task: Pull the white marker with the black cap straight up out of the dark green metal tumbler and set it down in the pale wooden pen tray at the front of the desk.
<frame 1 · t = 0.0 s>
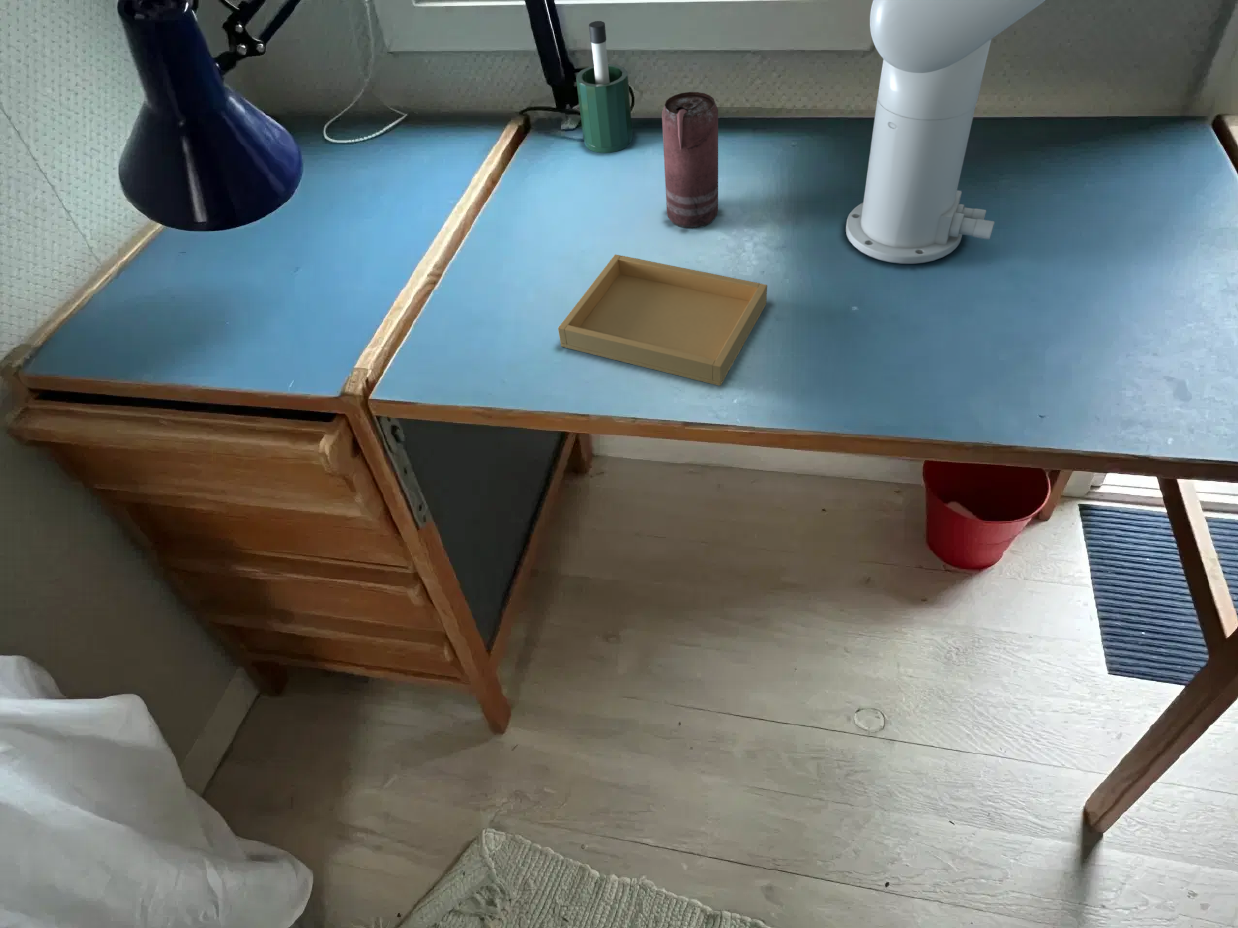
pen tray: (664, 325, 91), on the table
marker: (607, 135, 119), point 1 cm above the table, touching tumbler
can: (692, 218, 105), on the table
tumbler: (608, 141, 119), on the table
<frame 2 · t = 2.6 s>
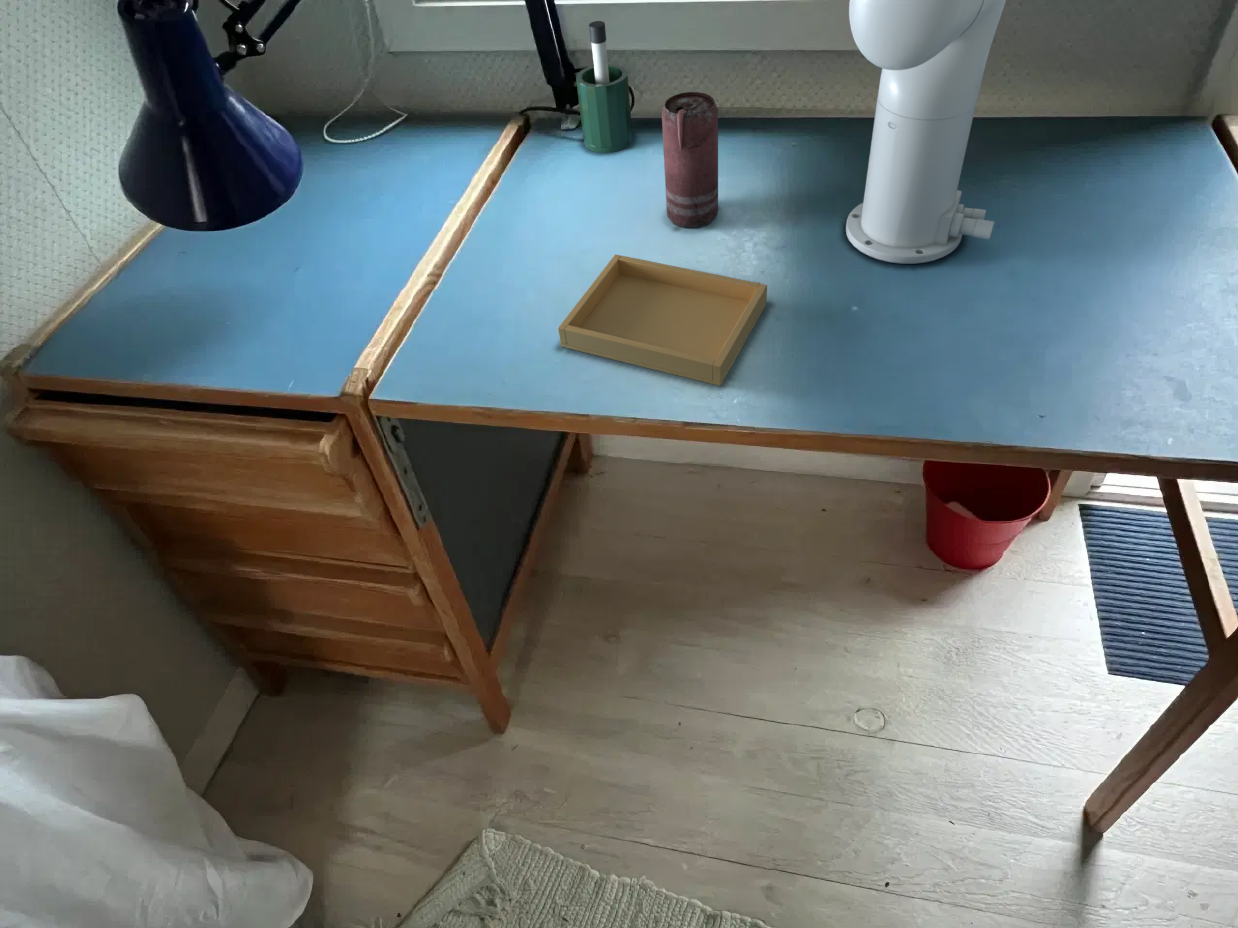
nothing on the table moved.
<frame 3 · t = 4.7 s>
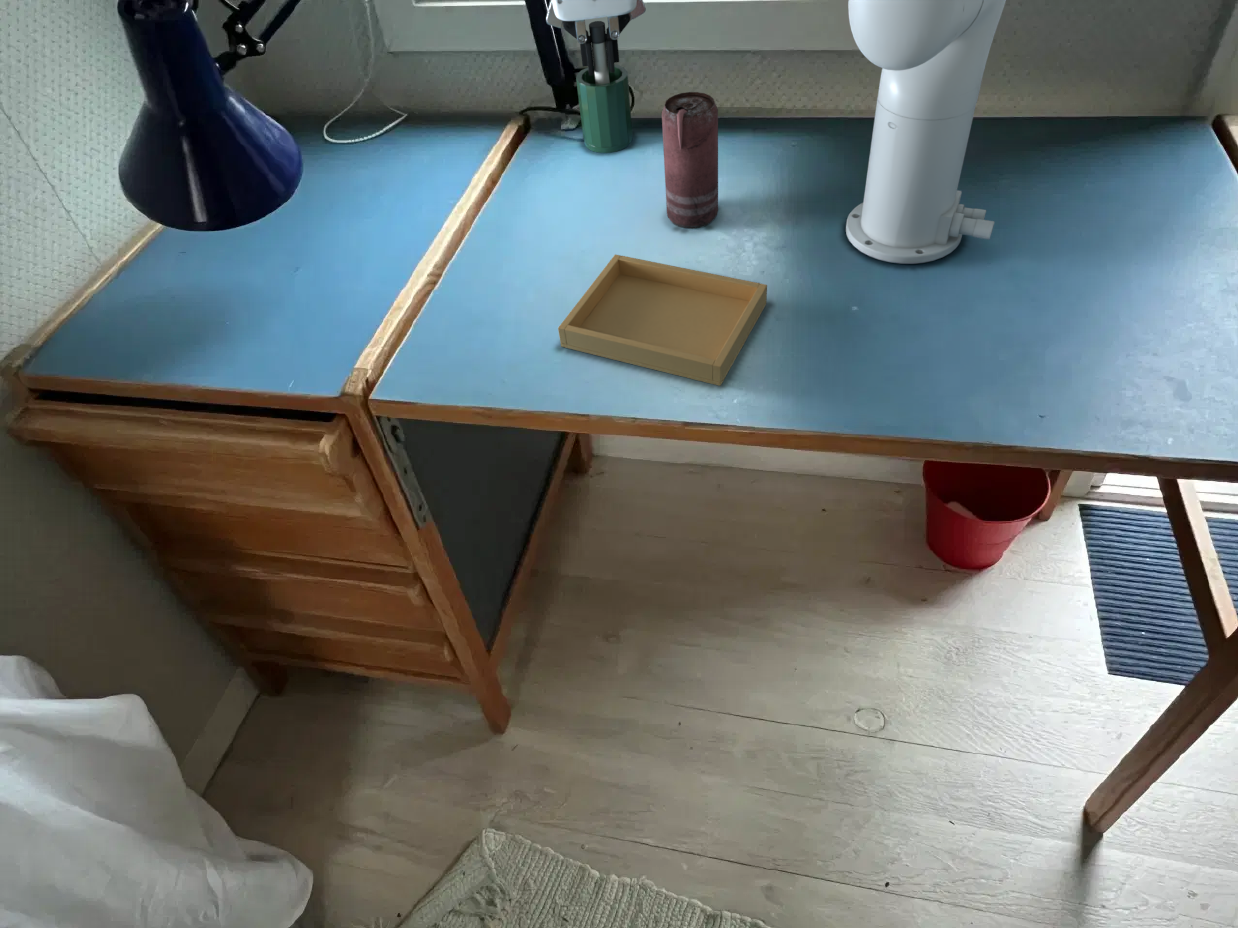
hand: (601, 68, 112), 10 cm above the table, tool pointing down, fingers closed on marker, 2 cm apart
marker: (607, 135, 119), point 1 cm above the table, touching gripper, tumbler
everything else where it was.
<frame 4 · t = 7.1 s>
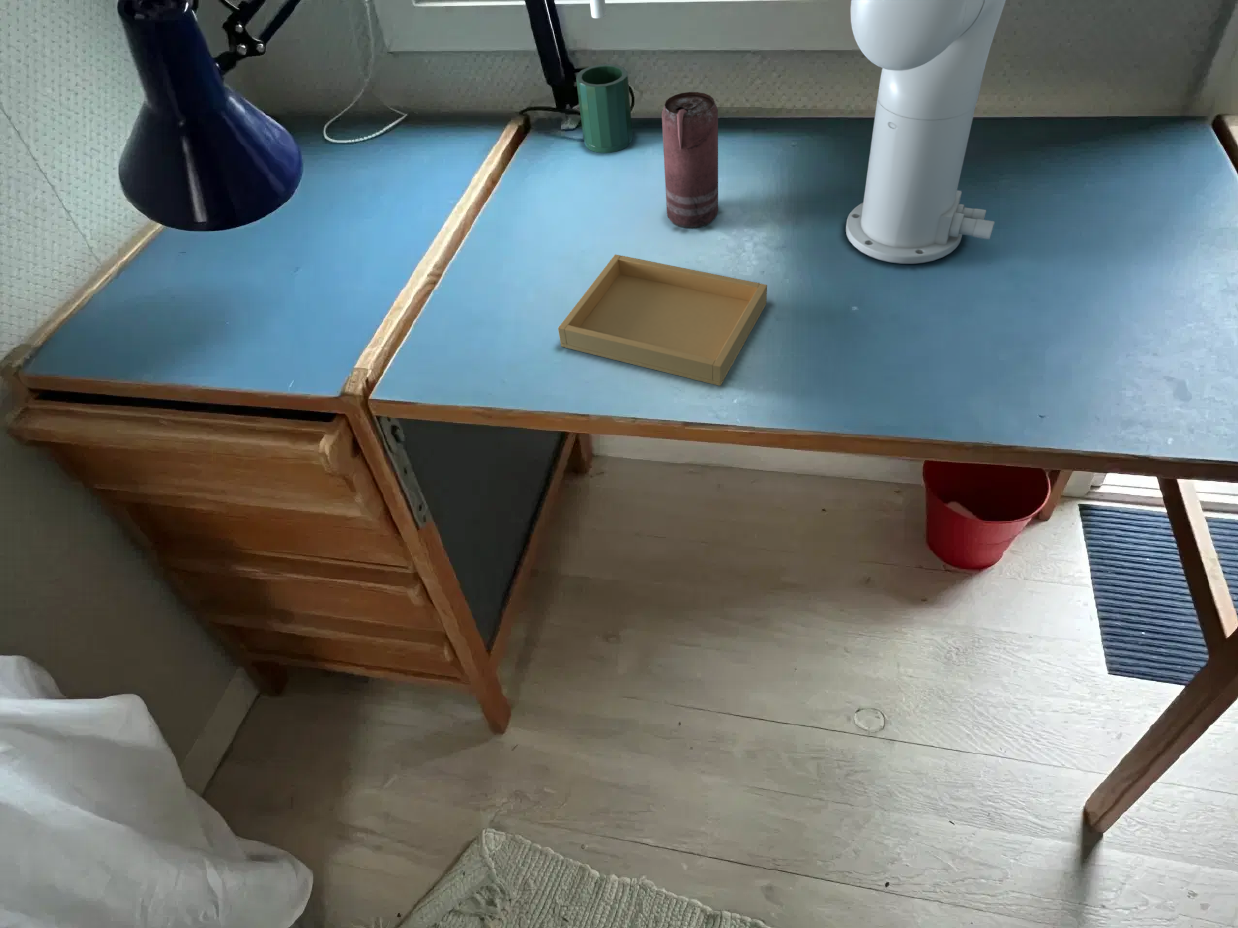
marker: (598, 16, 106), point 17 cm above the table, touching gripper
everything else where it was.
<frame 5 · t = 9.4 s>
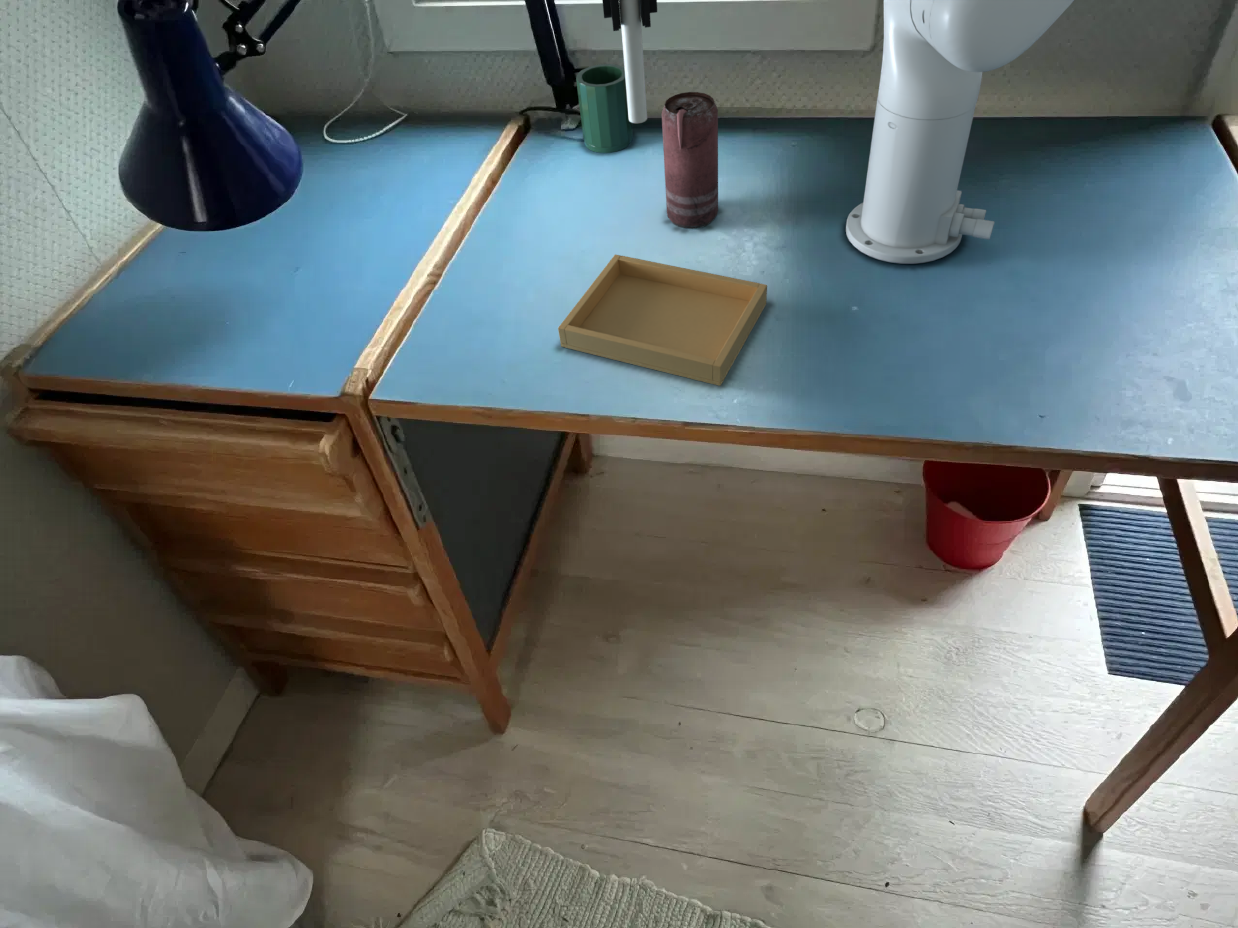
hand: (631, 21, 78), 27 cm above the table, tool pointing down, fingers closed on marker
marker: (638, 119, 84), point 18 cm above the table, touching gripper
everything else where it was.
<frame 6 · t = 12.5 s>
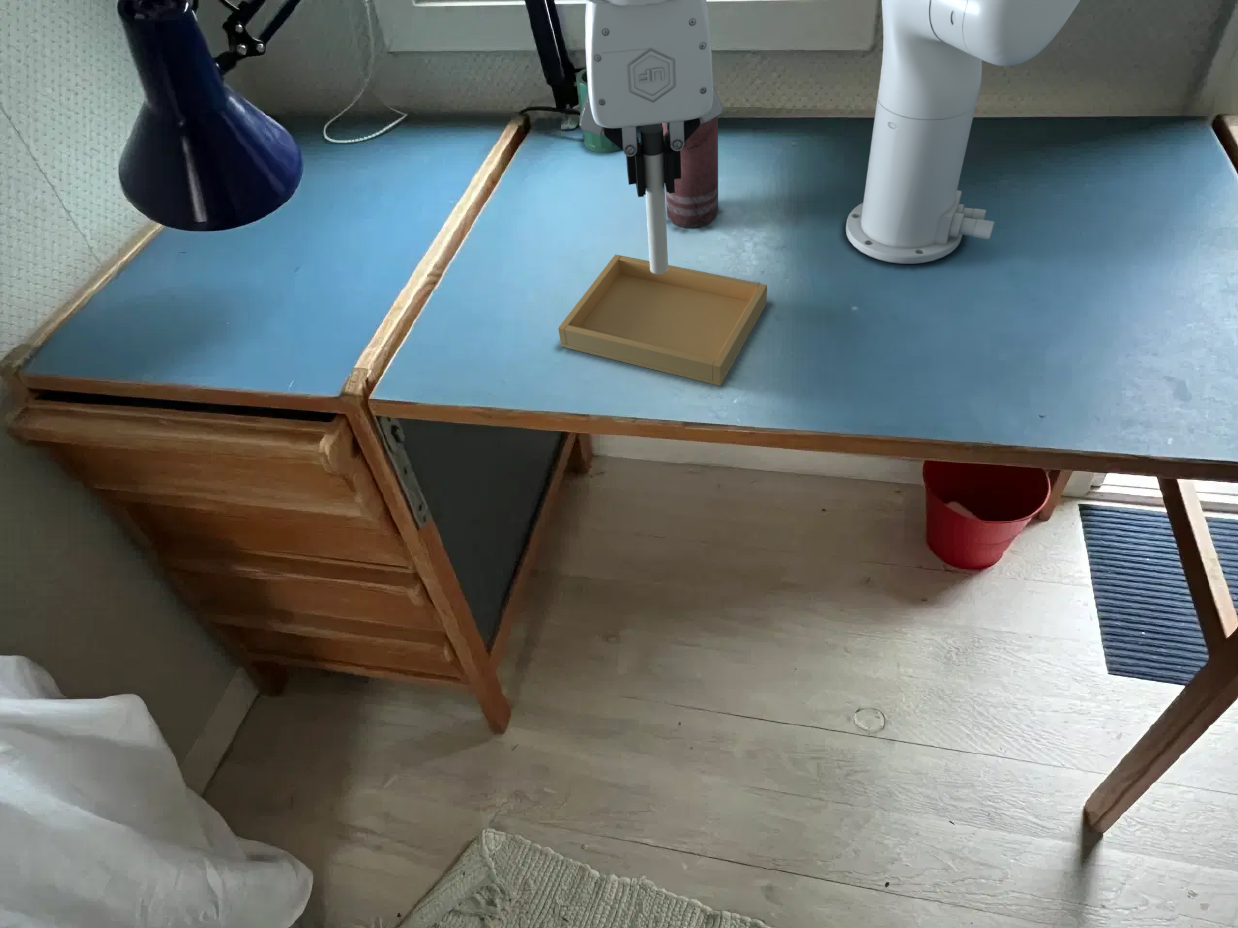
hand: (654, 186, 79), 16 cm above the table, tool pointing down, fingers closed on marker
marker: (659, 269, 86), point 7 cm above the table, touching gripper
everything else where it was.
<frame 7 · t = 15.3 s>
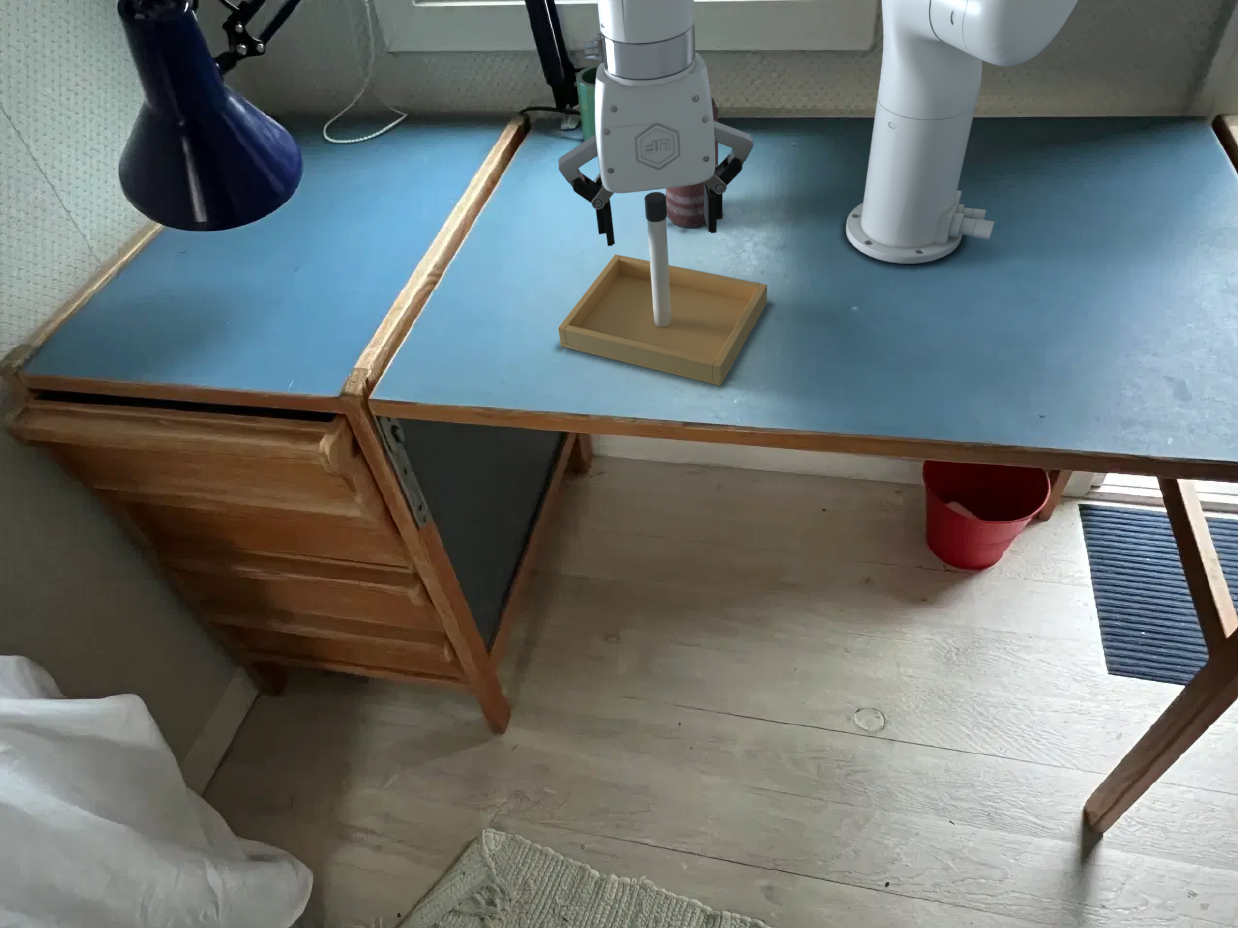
hand: (660, 231, 83), 11 cm above the table, tool pointing down, fingers open, 9 cm apart
marker: (662, 322, 91), resting on pen tray
everything else where it was.
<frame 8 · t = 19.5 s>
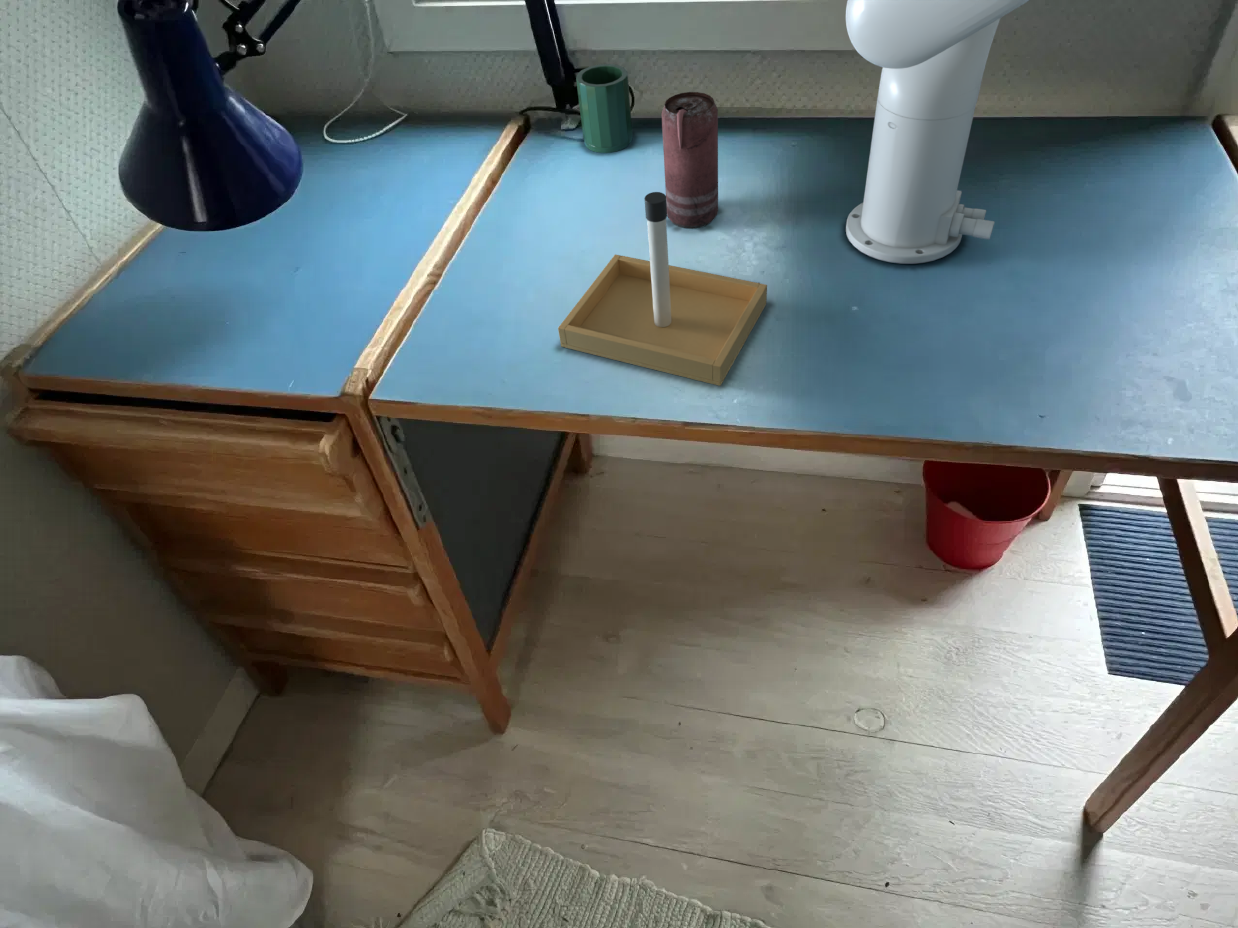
nothing on the table moved.
at the end: marker inside the target area in the pen tray (0.2 cm from its centre), point 0.5 cm above the pen tray's base; the gripper is holding nothing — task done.
